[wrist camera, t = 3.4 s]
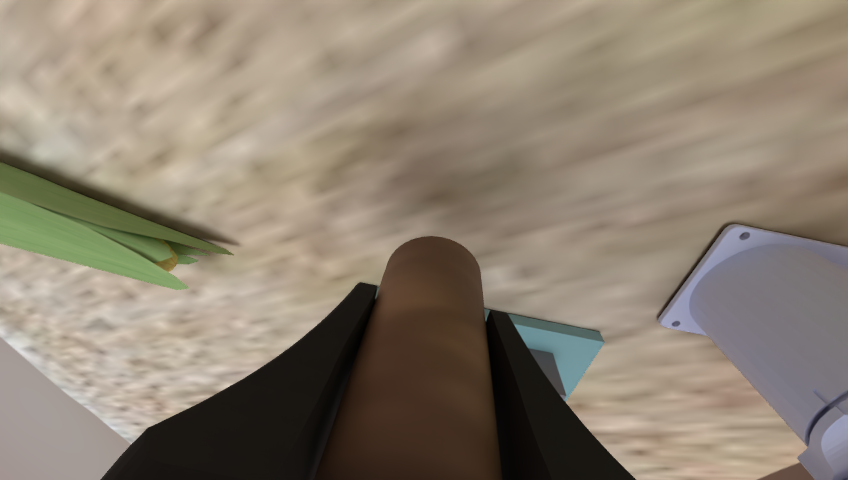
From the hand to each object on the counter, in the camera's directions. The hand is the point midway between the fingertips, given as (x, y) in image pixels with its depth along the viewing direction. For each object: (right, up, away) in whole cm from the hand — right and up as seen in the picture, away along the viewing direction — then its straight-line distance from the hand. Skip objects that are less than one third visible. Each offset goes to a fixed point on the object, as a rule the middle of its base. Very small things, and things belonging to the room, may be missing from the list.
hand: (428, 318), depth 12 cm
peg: (0, +1, +2) cm, 2 cm away
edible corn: (-23, +5, +12) cm, 26 cm away
